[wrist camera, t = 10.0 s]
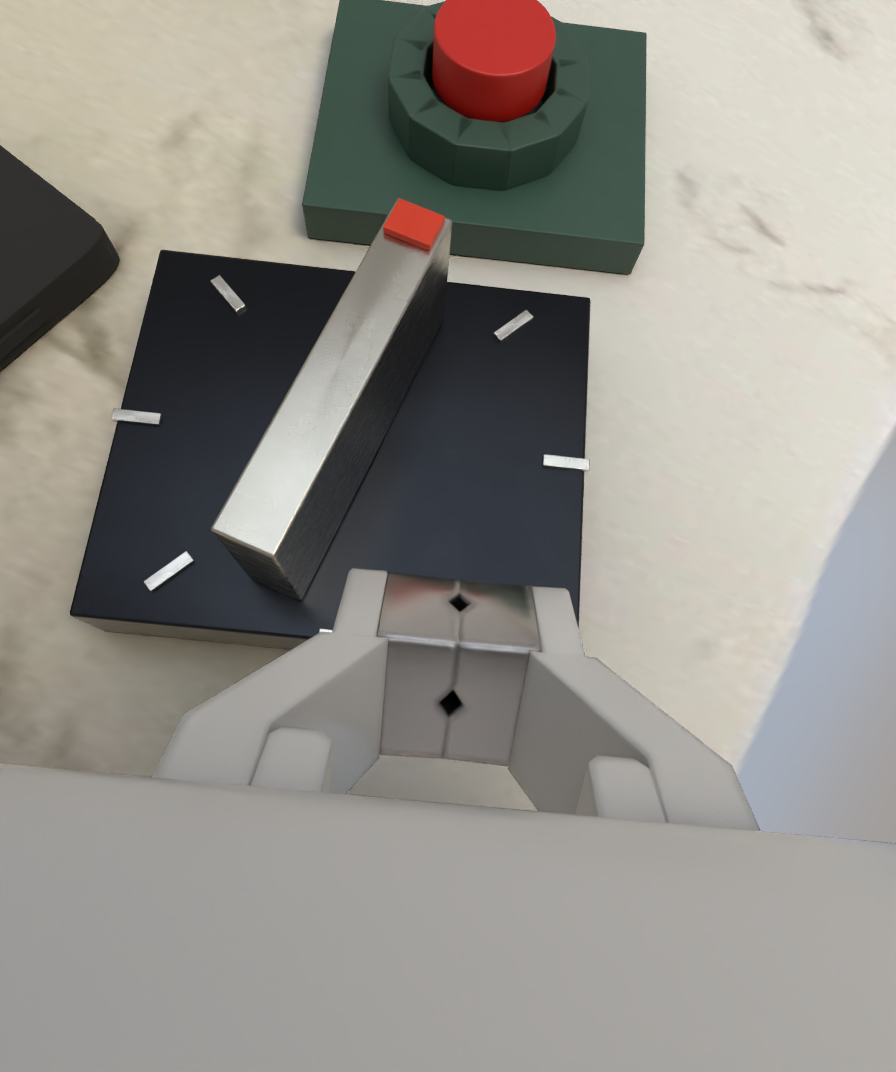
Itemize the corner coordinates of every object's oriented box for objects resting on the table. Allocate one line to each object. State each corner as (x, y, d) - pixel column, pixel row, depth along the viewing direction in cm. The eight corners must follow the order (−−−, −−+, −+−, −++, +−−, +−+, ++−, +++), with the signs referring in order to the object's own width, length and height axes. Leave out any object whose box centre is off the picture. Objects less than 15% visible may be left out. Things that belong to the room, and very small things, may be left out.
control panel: (91, 667, 22) (50, 654, 19) (185, 269, 26) (162, 216, 24) (561, 712, 22) (581, 706, 20) (578, 313, 27) (596, 265, 24)
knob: (301, 602, 20) (272, 555, 16) (249, 579, 20) (205, 526, 16) (444, 319, 23) (454, 212, 19) (398, 300, 23) (397, 189, 19)
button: (426, 116, 25) (428, 67, 23) (437, 29, 26) (440, -24, 24) (542, 130, 25) (553, 82, 23) (548, 43, 26) (559, -9, 25)
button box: (308, 238, 27) (294, 164, 24) (343, 36, 30) (336, -56, 27) (630, 275, 27) (662, 206, 24) (633, 71, 30) (662, -15, 27)
